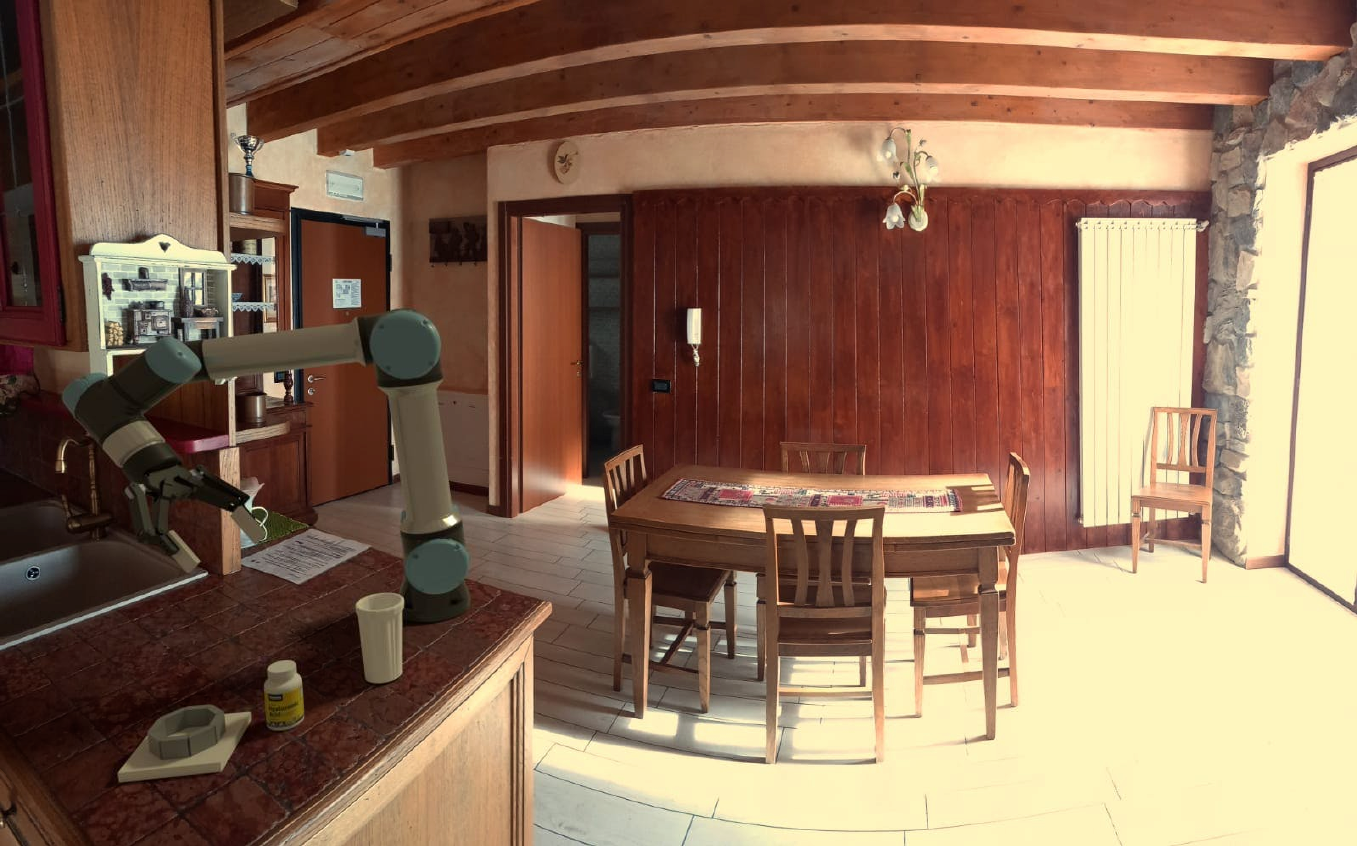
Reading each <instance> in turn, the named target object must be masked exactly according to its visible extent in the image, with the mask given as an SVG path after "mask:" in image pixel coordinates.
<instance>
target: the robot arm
mask: <svg viewBox="0 0 1357 846" xmlns="http://www.w3.org/2000/svg"><path fill="white" fill-rule="evenodd" d="M441 349H442V341H441V337H440V334H439V331H438V330H437V327H436V326H435V324H434V323H433V322H432V321H431V320H430V319H429V318H427V316H425V315H423V314H421V313H419V312H418V311H416V310H413V309H409V308H400V307H399V308H394V309H391V310H387V311H384V312H383V311H382V312H381V313H376V314H371V315H364V316H355V317H354V318H353V320H352V321H351V322H349V323H340V324H332V325H324V326H323V325H322V326H321V325H320V326H314V327H305V328H296V329H287V330H286V329H285V330H280V331H270V332H269V331H267V332H262V333H254V334H253V333H252V334H243V335H233V336H226V337H225V336H224V337H217V338H208V339H201V340H200V339H199V340H192V341H191V340H190V341H182V340H181V341H180V340H179V339H178V338H175V337H173V336H169V335H168V336H164V337H162V338H160V339H159V340H157V341H155V342H154V343H152V344H150V345H149V346H146V349H144V350H143V351H142V352H141V353H139V354H137V356H135V357H134V358H133V359H131V360H130V361H129V362H128V363H126V364H125V365H124V366H123V367H121V368H119V370H117V371H116V372H114V373H112V374H111V375H107V374H106V373H103V372H92V373H87V374H84V375H83V376H82V377H81V378H80V377H79V378H75V379H74V380H73V381H72V382H70V383H69V384H67V385H66V387H65V388H64V390H63V391H62V395H61V399H62V402H63V404H64V406H66V408H67V409H68V411H69V412H70V413H71V415H72V416H73V418H74V420H75V421H76V422H78V423H79V424H80V425H81V426H82V428H83V429H85V431H86V432H87V433H88V434H89V436H91V437H92V438H93V440H95V442H96V443H97V444H98V445H99V447H101V448H102V450H103V451H104V452H105V453H106V454H107V455H108V456H109V458H110V459H111V460H112V461H113V462H114V463H115V465H116V466H117V467H119V468H120V469H121V471H122V473H123V474H124V475H125V476H126V477H127V479H128V480H129V481H130V484H129V485H128V486H127V487H126V488H125V490H124V491H123V492H122V496H123V498H124V499H125V500H126V502H127V503H128V506H129V511H130V516H131V519H132V524H133V530H134V533H135V538H136V541H137V543H140V544H144V543H146V542H147V543H148V545H149V546H156V545H158V547H159V548H160V549H161V550H162V551H163V552H164V554H165V555H166V556H169V557H172V558H173V559H174V560H175V561H176V563H178V564H179V566H181V568H182V569H183V571H185V572H186V574H189V573H192V572H193V571H194V569H196V567H197V566H199V564H200V563H201V560H200V559H199V557H198V556H197V554H195V552H193V551H192V549H191V548H190V547H189V546H188V545H187V544H186V542H185V541H183V539H182V538H181V537H180V536H179V535H178V533H177V532H175V530H174V529H172V530H169V531H168V518H169V510H170V509H169V508H170V505H171V504H175V503H176V502H177V501H178V502H181V501H185V500H187V499H188V500H192V501H195V500H198V501H200V502H201V503H202V502H203V503H206V504H208V505H211V506H214V507H216V508H218V509H222V510H224V511H227V512H229V513H231V514H230V515H229V517H230V519H232V521H233V522H234V523H235V524H236V525H237V526H238V527H239V528H240V530H241V531H242V532H243V533H244V534H245V536H246V537H247V538H248V539H249V540H250V541H251V542H252V543H253V544H254V545H256V544H259V542H260V541H261V540H262V539H263V538H264V537H265V536H266V535H267V532H266V531H265V530H264V529H263V528H262V526H261V525H260V524H259V523H258V522H257V521H256V517H255V516H254V514H253V513H252V512H251V511H250V510H249V509H248V508H247V506H246V503H248V501H249V500H250V499H251V496H250V495H249V494H247V493H246V492H245V491H243V490H241V489H239V488H237V487H235V486H234V485H233V484H230V483H229V482H227V481H226V480H224V479H222V478H220V477H219V476H217V475H215V474H213V473H212V472H211V471H210V470H209V469H208V468H207V467H205V465H203V464H197V465H196V467H195V468H193V469H191V470H188V469H187V468H185V467H183V465H182V459H181V457H180V455H179V454H178V453H177V452H176V451H175V450H174V448H172V447H171V445H170V444H169V443H167V442H166V439H165V438H164V437H163V436H162V435H161V434H160V433H159V432H158V430H156V428H155V427H154V426H153V425H152V424H151V423H150V421H148V419H147V418H146V417H145V415H144V414H145V413H146V412H147V411H150V409H152V408H153V407H154V406H155V405H157V404H158V403H159V402H161V401H163V400H164V399H165V398H166V397H168V396H169V395H171V394H172V393H173V392H174V391H176V390H178V389H179V388H181V387H183V386H185V385H187V384H194V383H195V384H196V383H203V382H209V381H215V380H221V379H222V380H223V379H231V378H237V377H246V376H254V375H263V374H271V373H279V372H285V371H293V370H295V371H296V370H302V369H310V368H318V367H319V368H321V367H324V366H334V365H343V364H348V363H349V364H351V363H359V364H361V365H362V366H363V367H366V366H367V367H368V366H374V372H375V377H376V384H377V388H378V389H379V390H380V391H382V392H383V393H384V394H386V395H387V398H388V405H389V412H390V419H391V424H392V425H391V426H392V431H393V437H394V444H395V450H396V457H397V464H398V471H399V479H400V483H401V485H400V486H401V491H402V496H403V504H404V509H403V510H401V514H400V515H401V518H400V524H399V531H400V532H399V533H400V539H401V547H402V559H403V560H402V561H403V579H402V582H401V584H400V589H399V592H398V594H399V595H400V596H402V597H403V598H404V608H403V610H402V620H406V621H408V622H415V623H434V622H435V623H436V622H440V621H446V620H450V619H454V618H456V617H458V616H460V615H462V614H463V613H465V612H467V610H468V609H469V608H470V606H471V595H470V592H469V589H468V586H467V583H466V580H465V578H466V577H467V575H468V574H469V571H470V570H469V569H470V561H471V558H470V553H469V552H468V549H467V545H466V539H465V538H466V537H465V533H464V524H463V517H462V514H461V513H459V507H458V506H457V505H456V504H454V503H453V501H452V496H451V489H450V482H449V481H450V480H449V475H448V466H447V460H446V453H445V444H444V439H443V438H444V437H443V430H442V423H441V415H440V409H439V402H438V393H437V390H438V387H439V386H440V385H441V384H442V382H443V381H444V376H443V368H442V359H441V352H442V351H441ZM194 487H195V488H194ZM147 496H148V497H151V498H152V504H151V509H152V515H150V514H151V513H150V510H149V506H148V501H147ZM167 531H168V532H167Z"/></svg>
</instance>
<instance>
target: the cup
mask: <svg viewBox="0 0 1357 846" xmlns="http://www.w3.org/2000/svg"><path fill="white" fill-rule="evenodd" d="M403 608H404V598H403V597H402V596H400V595H399V593H395V592H379V593H373V594H370V595H366V596H364V597H362V598H360V599H359V600H358V601H357V602H356V603H355V612H356V615H357V619H358V620H357V621H358V627H359V638H360V644H361V653H362V662H363V663H362V664H363V670H364V680H366V681H367V682H368V683H372V684H385V683H389V682H392V681H395V680H396V679H398V678H399V677H400V676H401V675H402V674H403V618H402V610H403Z"/></svg>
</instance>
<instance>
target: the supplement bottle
mask: <svg viewBox="0 0 1357 846" xmlns="http://www.w3.org/2000/svg"><path fill="white" fill-rule="evenodd" d="M266 670H267V679H266V680H265V682H264V684H263V693H264V694H263V696H264V709H265V718H266V719H265V721H266V727H267V728H269V730H272V731H275V732H276V731H277V732H279V731H287V730H289V729H292V728H295V727H297V726H299V725H300V724H301V723H303V721H304V719H305V708H304V707H305V705H304V691H303V681H302V677H301V675H300V674H299V673H298V672H297V663H296V662H295V661H294V660H289V659H285V660H277V661H275V662H273V663H271V664H270V665H269V666H268V667H267V669H266Z"/></svg>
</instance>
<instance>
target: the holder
mask: <svg viewBox="0 0 1357 846" xmlns="http://www.w3.org/2000/svg"><path fill="white" fill-rule="evenodd" d="M251 721H252V712H251V711H243V712H232V713H231V712H230V713H225V711H224V710H222V709H220V708H218V707H217V706H216V705H214V704H203V705H190V706H186V707H182V708H179V709H177V710H174V711H172V712H169V713H167V714H165V715H163V716H161V717H159V718H157V720H155V722H154V723H153V725H151V727H150V728H149V729H148V730H147V735H146V736H145V738H144V739H143V740H142V741H141V743H140V744H139V745H138V747H137V748H136V749H135V750H134V751H133V753H132V754H131V755H130V756H129V758H128V759H127V760H126V761H125V763H124V764H123V766H122V767H121V768H120V769H119V771H118V772H117V779H118V783H126V782H127V783H128V782H136V781H137V782H138V781H144V780H146V781H147V780H155V779H164V778H173V777H183V776H191V775H192V776H193V775H200V774H201V775H202V774H209V773H210V774H211V773H218V772H219V773H221V772H222V771H223V770H224V768H225V766H226V764H227V762H229V761H228V760H230V758H231V756H232V755H233V752H234V751H235V749H236V747H237V746H238V744H239V743H240V741H241V739H242V737H243V735H244V733H245V732H246V730H247V728H248V727H249V725H250V723H251Z"/></svg>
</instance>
